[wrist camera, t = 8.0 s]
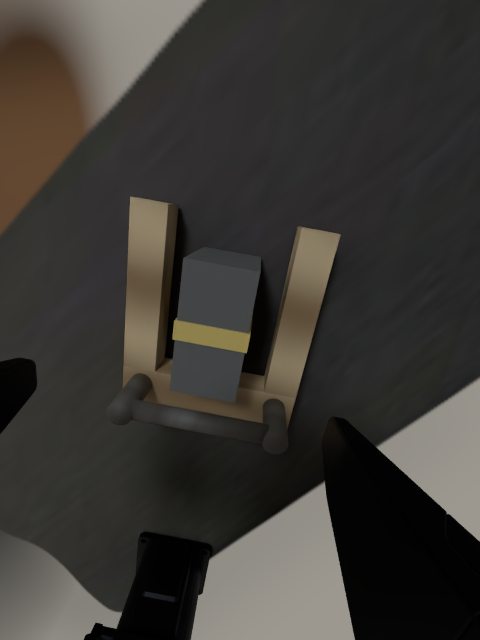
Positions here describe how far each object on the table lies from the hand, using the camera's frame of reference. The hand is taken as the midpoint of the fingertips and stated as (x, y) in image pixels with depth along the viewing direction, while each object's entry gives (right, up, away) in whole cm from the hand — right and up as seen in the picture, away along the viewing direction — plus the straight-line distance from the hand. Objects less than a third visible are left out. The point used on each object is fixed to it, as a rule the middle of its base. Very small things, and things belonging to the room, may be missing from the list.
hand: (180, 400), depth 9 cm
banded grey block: (+1, +3, +10) cm, 11 cm away
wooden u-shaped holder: (+1, +2, +11) cm, 11 cm away
